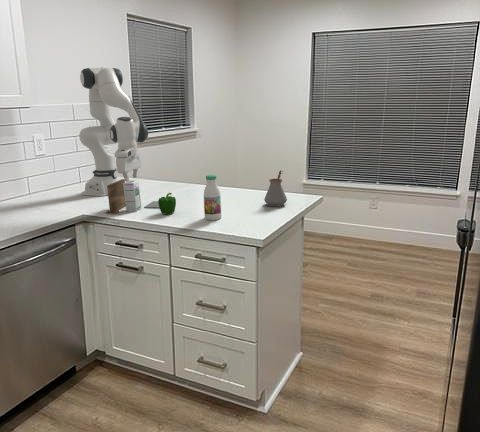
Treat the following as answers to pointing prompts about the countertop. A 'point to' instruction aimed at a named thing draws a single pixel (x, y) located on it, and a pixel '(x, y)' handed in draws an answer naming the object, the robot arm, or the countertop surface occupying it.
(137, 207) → the syrup box
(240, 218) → the countertop surface
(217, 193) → the milk bottle
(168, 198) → the bell pepper
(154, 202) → the coaster
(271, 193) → the coffee pot
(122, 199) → the brown wooden display stand
